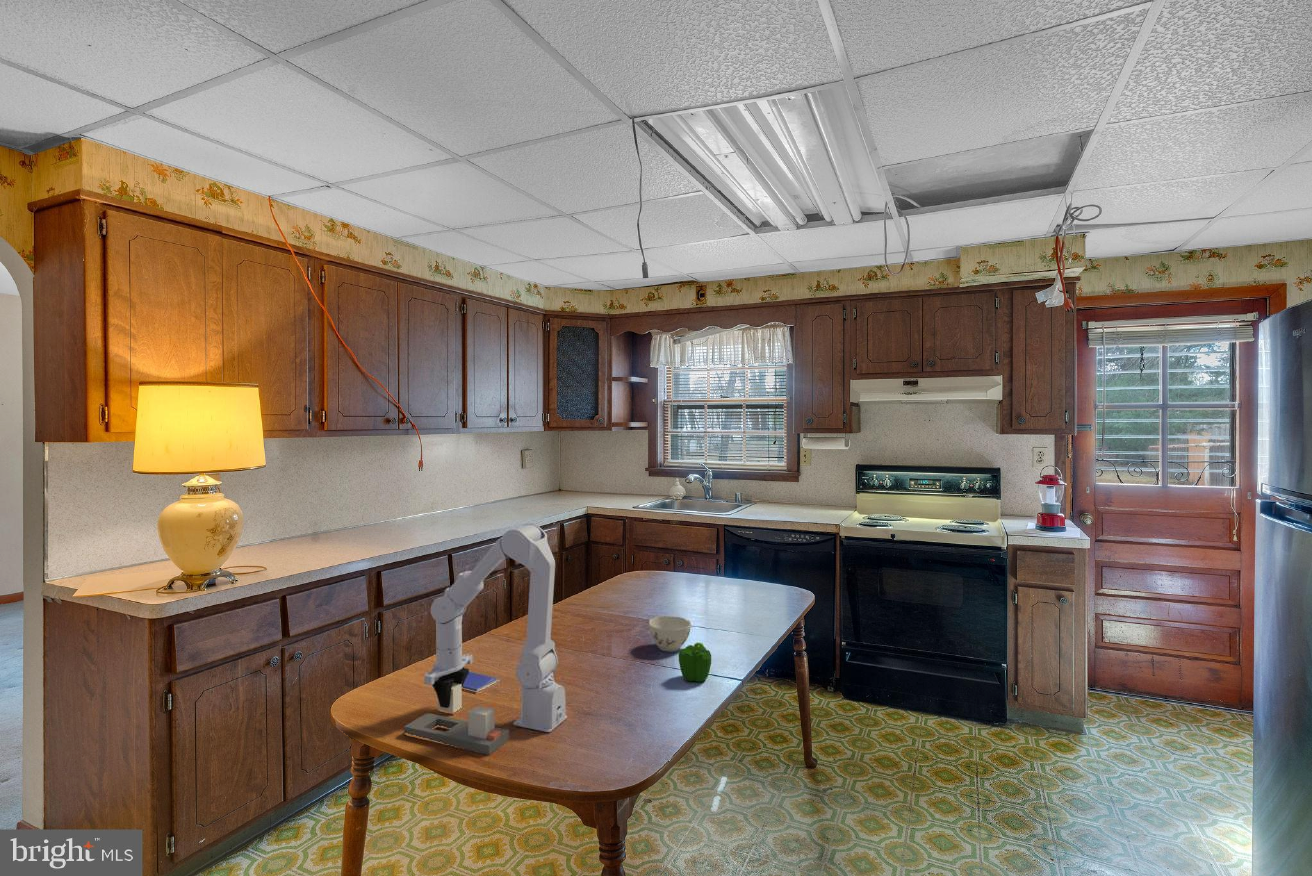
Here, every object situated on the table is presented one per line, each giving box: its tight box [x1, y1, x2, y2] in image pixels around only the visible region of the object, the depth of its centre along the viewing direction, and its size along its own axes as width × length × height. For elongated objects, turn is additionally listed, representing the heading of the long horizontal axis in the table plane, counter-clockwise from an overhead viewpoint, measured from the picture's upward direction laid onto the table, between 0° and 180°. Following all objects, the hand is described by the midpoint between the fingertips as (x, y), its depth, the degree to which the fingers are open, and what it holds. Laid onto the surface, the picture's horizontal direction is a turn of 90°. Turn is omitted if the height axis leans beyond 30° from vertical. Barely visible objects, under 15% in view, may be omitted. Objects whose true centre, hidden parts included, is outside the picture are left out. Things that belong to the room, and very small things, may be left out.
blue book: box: [463, 671, 500, 692], centre depth 170 cm, size 2×8×12 cm
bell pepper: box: [678, 641, 712, 683], centre depth 172 cm, size 8×8×10 cm
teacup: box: [648, 615, 692, 653], centre depth 196 cm, size 15×12×8 cm
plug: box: [437, 683, 463, 713], centre depth 154 cm, size 4×3×6 cm
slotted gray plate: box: [403, 705, 510, 756], centre depth 141 cm, size 22×7×7 cm, turn 68°
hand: (449, 703), depth 154 cm, fingers closed on plug, 3 cm apart
